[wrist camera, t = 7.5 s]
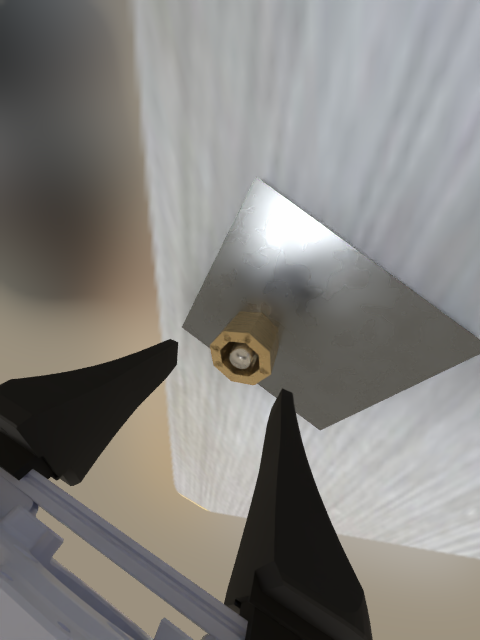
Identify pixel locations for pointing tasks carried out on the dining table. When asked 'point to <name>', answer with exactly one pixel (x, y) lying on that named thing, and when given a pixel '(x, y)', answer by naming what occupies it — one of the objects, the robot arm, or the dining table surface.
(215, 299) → the shaft stand
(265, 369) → the bronze hub
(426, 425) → the dining table surface
